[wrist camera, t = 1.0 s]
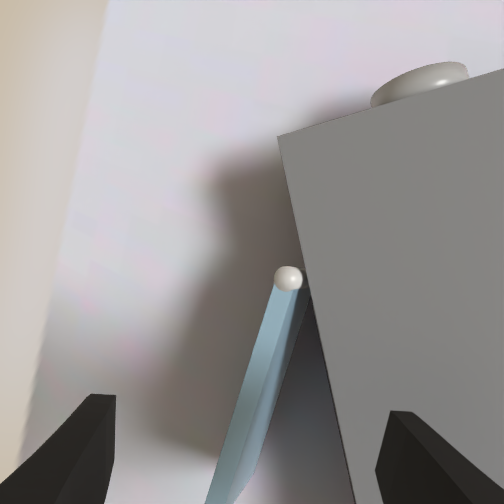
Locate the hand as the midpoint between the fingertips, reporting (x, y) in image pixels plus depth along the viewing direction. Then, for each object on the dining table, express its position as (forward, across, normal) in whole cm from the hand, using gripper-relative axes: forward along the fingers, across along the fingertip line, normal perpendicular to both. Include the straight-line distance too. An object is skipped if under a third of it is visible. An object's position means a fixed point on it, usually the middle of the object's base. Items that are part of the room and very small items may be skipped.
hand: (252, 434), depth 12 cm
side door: (+10, -2, +4) cm, 11 cm away
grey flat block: (+8, -10, +1) cm, 13 cm away
